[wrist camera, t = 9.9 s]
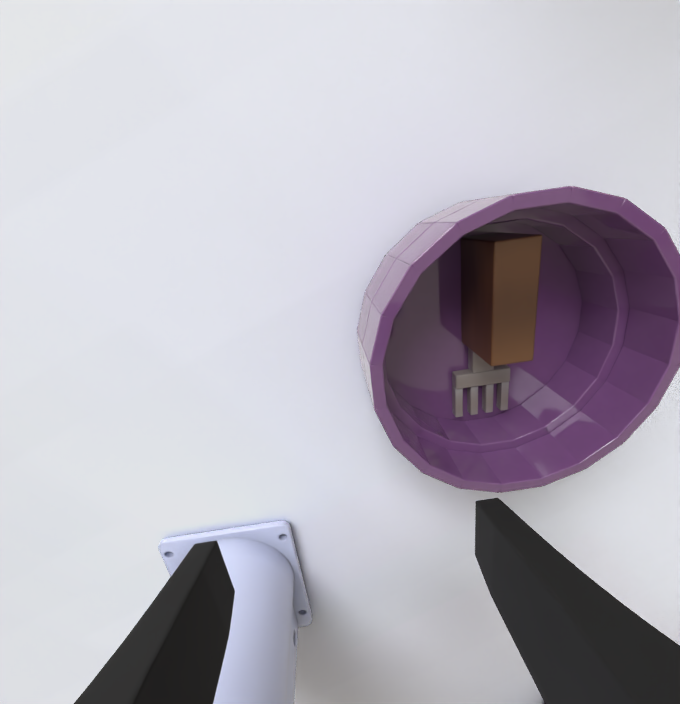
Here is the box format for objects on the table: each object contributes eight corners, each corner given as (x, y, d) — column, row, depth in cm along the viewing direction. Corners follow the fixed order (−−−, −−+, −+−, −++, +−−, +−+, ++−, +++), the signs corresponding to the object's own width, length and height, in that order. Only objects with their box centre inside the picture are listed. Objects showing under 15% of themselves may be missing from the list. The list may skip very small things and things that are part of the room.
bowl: (575, 411, 20) (656, 469, 15) (369, 442, 20) (385, 510, 15) (606, 181, 15) (731, 162, 11) (342, 218, 15) (352, 216, 11)
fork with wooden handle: (449, 239, 15) (480, 243, 12) (510, 230, 15) (557, 232, 12) (452, 413, 19) (478, 449, 16) (503, 405, 19) (538, 440, 16)
